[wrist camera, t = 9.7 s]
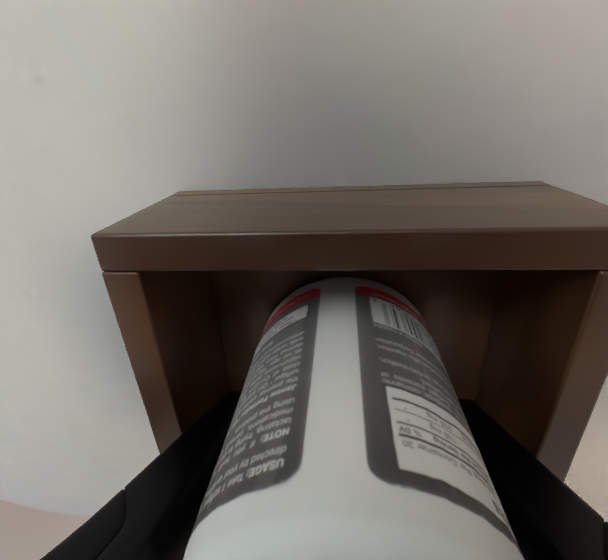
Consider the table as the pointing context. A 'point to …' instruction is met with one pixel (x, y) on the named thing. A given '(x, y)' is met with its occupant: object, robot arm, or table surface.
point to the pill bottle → (349, 443)
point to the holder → (383, 269)
